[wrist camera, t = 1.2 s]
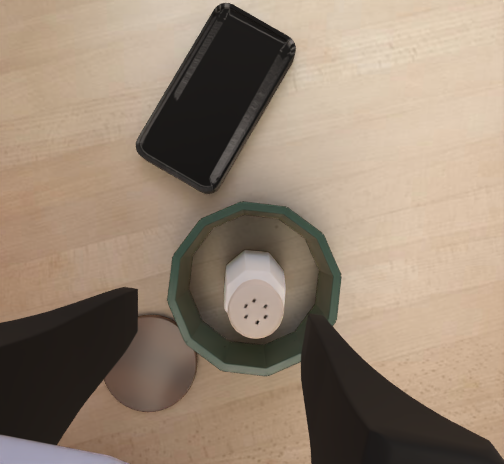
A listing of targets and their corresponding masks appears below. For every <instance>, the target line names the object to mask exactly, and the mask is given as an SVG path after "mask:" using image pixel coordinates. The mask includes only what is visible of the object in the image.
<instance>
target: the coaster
mask: <svg viewBox="0 0 504 464" xmlns="http://www.w3.org/2000/svg"><path fill="white" fill-rule="evenodd" d="M196 370H197V353H196V351H194V350H193V349H192V348H190V347H189V346H188V345H186V343H185V342H184V340H183V337H182V335H181V333H180V330H179V328H178V326H177V323H176V322H175V321H173V320H171V319H169V318H167V317H163V316H159V315H143V316H139V317H138V332H137V334H136V335H135V337H134V339H133V341H132V342H131V344H130V346H129V347H128V349H127V350H126V352H125V353H124V354H123V356H122V357H121V358H120V360H119V361H118V362H117V363H116V365H115V366H114V367H113V368H112V370H111V371H110V372H109V373H108V375H107V376H106V377H105V378H104V381H105V384H106V386H107V388H108V389H109V391H110V392H111V394H112V395H113V396H114V397H115V398H116V399H117V400H118V401H119V402H120V403H122V404H123V405H125V406H127V407H129V408H131V409H134V410H137V411H142V412H154V411H159V410H163V409H166V408H168V407H170V406H172V405H174V404H175V403H177V402H178V401H179V400H180V399H181V398H182V397H183V396H184V395H185V394H186V393H187V391H188V390H189V388H190V387H191V384H192V382H193V380H194V377H195V374H196Z"/></svg>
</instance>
